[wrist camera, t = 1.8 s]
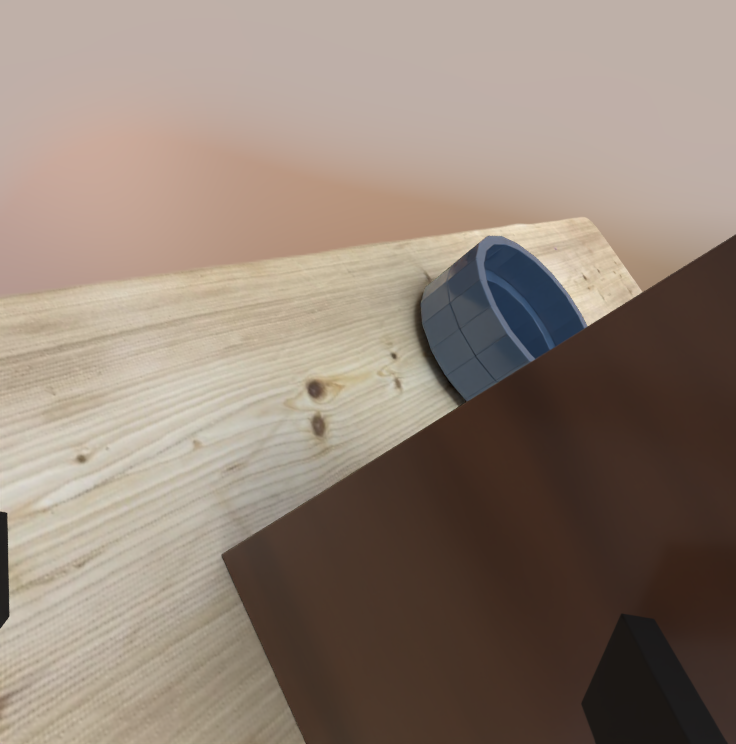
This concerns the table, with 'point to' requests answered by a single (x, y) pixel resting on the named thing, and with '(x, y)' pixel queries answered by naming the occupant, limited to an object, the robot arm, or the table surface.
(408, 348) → the table surface
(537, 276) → the bowl
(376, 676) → the stand
